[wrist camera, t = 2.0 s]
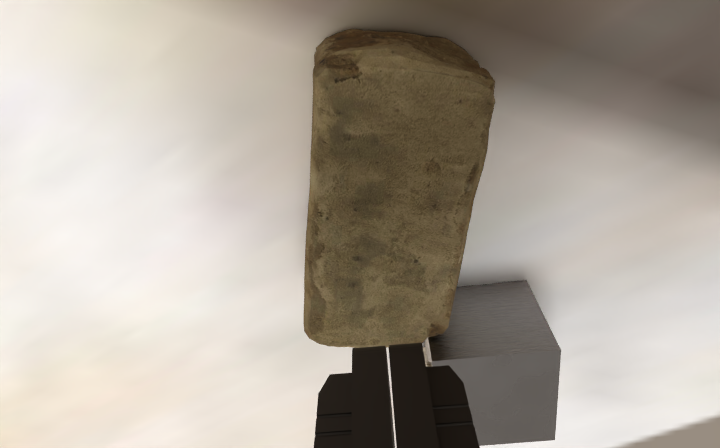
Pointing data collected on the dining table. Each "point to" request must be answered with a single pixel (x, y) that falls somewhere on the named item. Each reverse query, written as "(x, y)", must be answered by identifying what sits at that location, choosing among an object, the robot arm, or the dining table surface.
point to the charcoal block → (502, 361)
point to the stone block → (390, 184)
